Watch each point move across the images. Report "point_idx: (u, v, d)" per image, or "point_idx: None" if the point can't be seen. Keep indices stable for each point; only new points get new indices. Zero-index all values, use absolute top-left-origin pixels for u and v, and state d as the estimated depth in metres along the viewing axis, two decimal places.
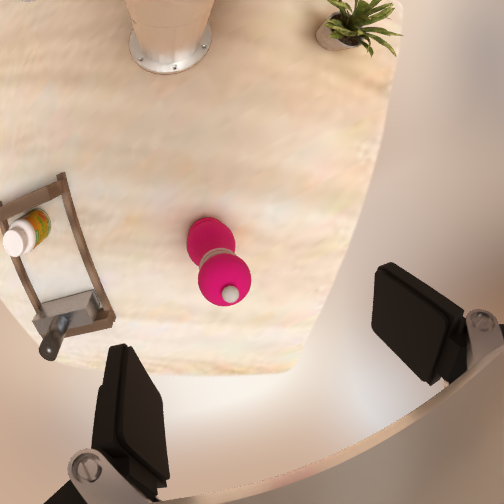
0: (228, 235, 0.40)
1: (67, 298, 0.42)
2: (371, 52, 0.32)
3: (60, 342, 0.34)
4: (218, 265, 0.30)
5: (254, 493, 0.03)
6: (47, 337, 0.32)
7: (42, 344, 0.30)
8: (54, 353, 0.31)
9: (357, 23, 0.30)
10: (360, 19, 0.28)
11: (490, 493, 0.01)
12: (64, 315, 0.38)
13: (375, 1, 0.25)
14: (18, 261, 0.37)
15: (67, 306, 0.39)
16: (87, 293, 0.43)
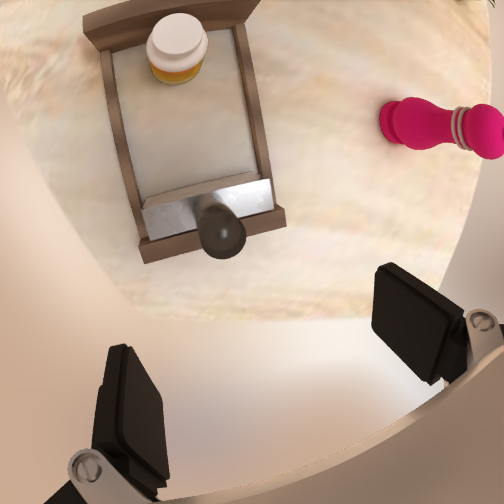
0: None
1: (204, 183, 0.30)
2: (493, 6, 0.19)
3: None
4: (493, 108, 0.17)
5: (254, 492, 0.03)
6: (219, 208, 0.19)
7: (216, 215, 0.18)
8: (243, 236, 0.19)
9: None
10: None
11: (490, 493, 0.01)
12: (222, 192, 0.25)
13: None
14: (120, 117, 0.24)
15: (217, 185, 0.27)
16: (245, 174, 0.30)
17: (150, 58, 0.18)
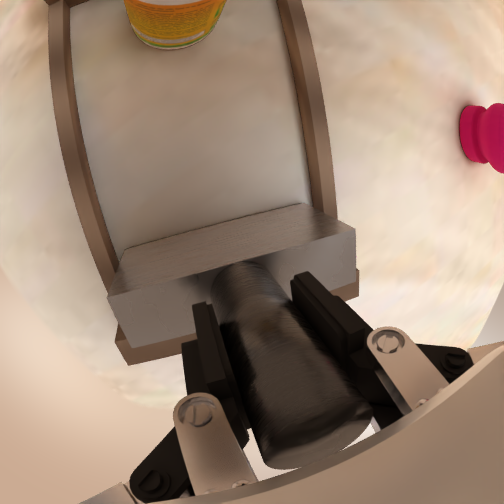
0: None
1: (225, 225, 0.17)
2: None
3: None
4: None
5: (254, 493, 0.03)
6: (301, 354, 0.07)
7: (312, 405, 0.05)
8: (364, 424, 0.06)
9: None
10: None
11: (490, 493, 0.01)
12: (269, 259, 0.13)
13: None
14: (72, 107, 0.12)
15: (253, 237, 0.15)
16: (294, 209, 0.18)
17: None
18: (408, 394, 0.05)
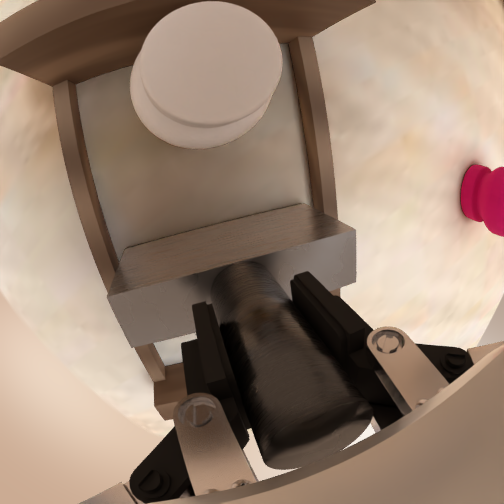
0: None
1: (225, 225, 0.17)
2: None
3: None
4: None
5: (253, 493, 0.03)
6: (302, 354, 0.07)
7: (312, 405, 0.05)
8: (364, 424, 0.06)
9: None
10: None
11: (490, 493, 0.01)
12: (270, 259, 0.13)
13: None
14: (96, 210, 0.15)
15: (253, 237, 0.15)
16: (294, 209, 0.18)
17: (140, 116, 0.08)
18: (408, 394, 0.05)
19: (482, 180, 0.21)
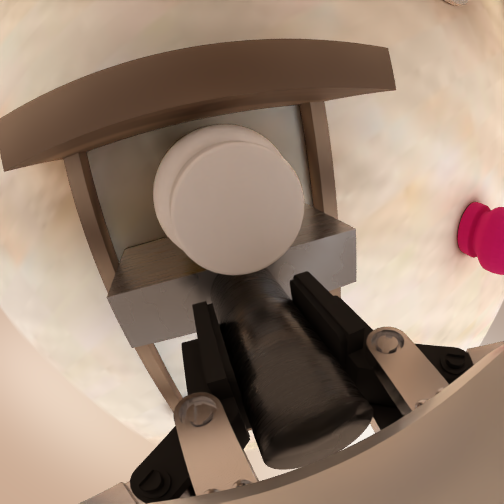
0: None
1: None
2: None
3: None
4: None
5: (254, 493, 0.03)
6: (302, 354, 0.07)
7: (312, 405, 0.05)
8: (364, 424, 0.06)
9: None
10: None
11: (490, 493, 0.01)
12: None
13: None
14: None
15: None
16: None
17: (168, 235, 0.10)
18: (407, 394, 0.05)
19: (479, 220, 0.23)
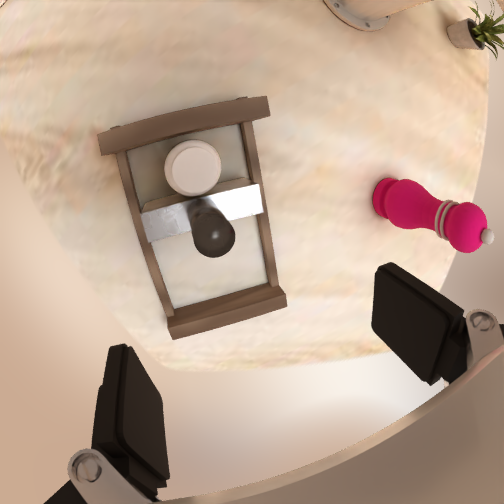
0: None
1: None
2: None
3: None
4: (475, 210, 0.24)
5: (254, 493, 0.03)
6: (210, 211, 0.21)
7: (208, 218, 0.20)
8: (232, 236, 0.21)
9: (487, 32, 0.24)
10: (492, 30, 0.22)
11: (490, 493, 0.01)
12: (214, 197, 0.27)
13: (499, 18, 0.20)
14: None
15: (210, 190, 0.29)
16: (237, 180, 0.32)
17: (170, 184, 0.25)
18: None
19: (388, 190, 0.37)
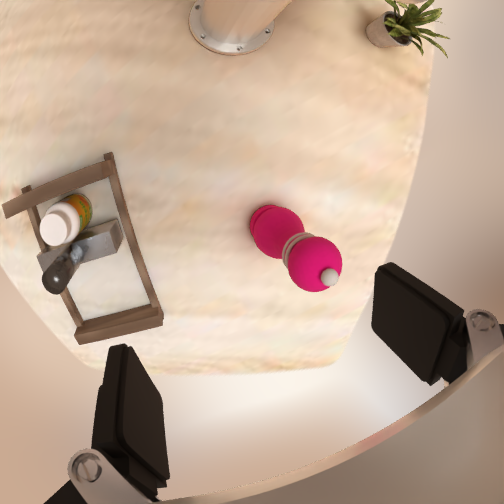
0: (300, 221, 0.38)
1: (83, 231, 0.36)
2: (422, 51, 0.31)
3: (72, 271, 0.28)
4: (315, 248, 0.28)
5: (254, 493, 0.03)
6: (55, 262, 0.26)
7: (48, 269, 0.24)
8: (63, 281, 0.25)
9: (409, 23, 0.28)
10: (413, 20, 0.26)
11: (490, 493, 0.01)
12: (79, 243, 0.32)
13: (426, 5, 0.24)
14: None
15: (83, 235, 0.34)
16: (109, 222, 0.37)
17: None
18: None
19: None
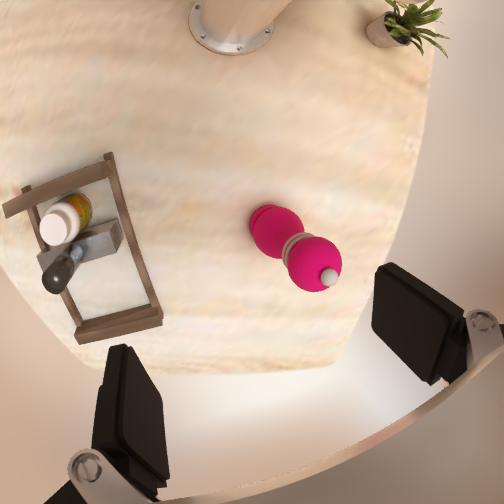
0: (300, 221, 0.38)
1: (83, 231, 0.36)
2: (422, 51, 0.31)
3: (72, 271, 0.28)
4: (315, 248, 0.28)
5: (254, 493, 0.03)
6: (55, 262, 0.26)
7: (48, 268, 0.24)
8: (63, 281, 0.25)
9: (409, 24, 0.28)
10: (413, 20, 0.26)
11: (490, 493, 0.01)
12: (79, 243, 0.32)
13: (426, 5, 0.24)
14: None
15: (83, 235, 0.34)
16: (109, 222, 0.37)
17: None
18: None
19: None
